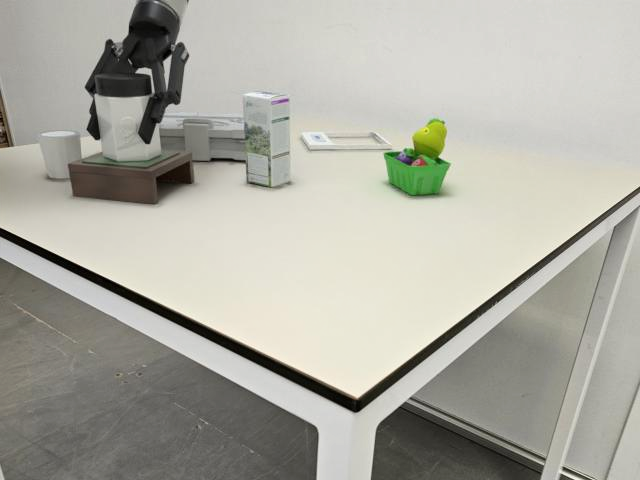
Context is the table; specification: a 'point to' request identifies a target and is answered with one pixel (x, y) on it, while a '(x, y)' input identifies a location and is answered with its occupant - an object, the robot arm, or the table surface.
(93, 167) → the shelf
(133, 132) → the jar
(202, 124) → the grey plastic tool case
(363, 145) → the photo frame
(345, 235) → the table surface
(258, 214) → the table surface
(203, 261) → the table surface
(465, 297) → the table surface
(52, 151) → the white cup
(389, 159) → the fruit basket
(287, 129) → the syrup box
